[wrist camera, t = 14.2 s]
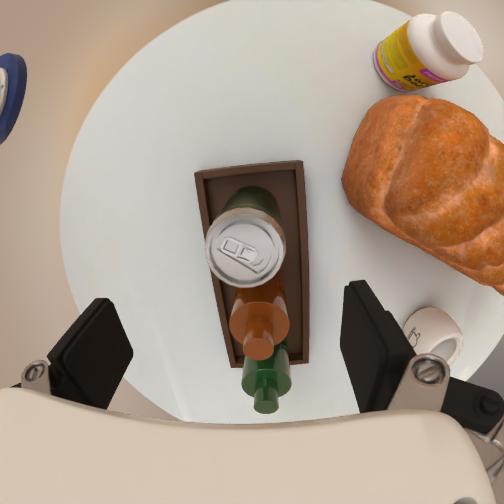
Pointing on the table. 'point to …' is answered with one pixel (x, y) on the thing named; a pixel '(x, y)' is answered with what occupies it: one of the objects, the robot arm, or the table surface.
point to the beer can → (246, 239)
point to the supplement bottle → (428, 51)
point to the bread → (432, 182)
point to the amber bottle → (260, 317)
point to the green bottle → (268, 378)
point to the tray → (295, 230)
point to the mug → (434, 334)
